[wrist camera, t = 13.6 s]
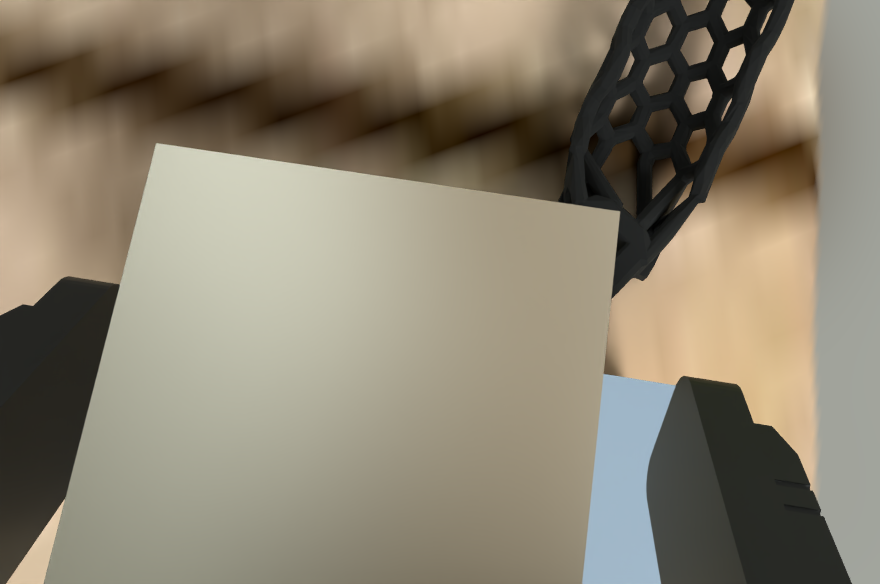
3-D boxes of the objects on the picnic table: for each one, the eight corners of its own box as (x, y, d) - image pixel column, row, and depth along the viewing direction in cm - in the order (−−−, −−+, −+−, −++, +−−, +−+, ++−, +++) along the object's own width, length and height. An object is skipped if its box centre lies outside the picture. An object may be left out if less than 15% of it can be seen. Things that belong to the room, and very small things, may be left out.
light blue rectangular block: (183, 533, 26) (58, 560, 17) (231, 327, 27) (138, 255, 19) (604, 604, 25) (697, 670, 17) (627, 392, 27) (722, 350, 18)
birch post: (278, 540, 17) (28, 640, 6) (316, 340, 18) (156, 142, 8) (480, 572, 17) (567, 726, 6) (507, 369, 18) (619, 211, 7)
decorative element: (707, -177, 33) (764, -315, 27) (822, -137, 33) (904, -268, 27) (502, 294, 28) (518, 247, 22) (633, 350, 28) (684, 316, 22)
